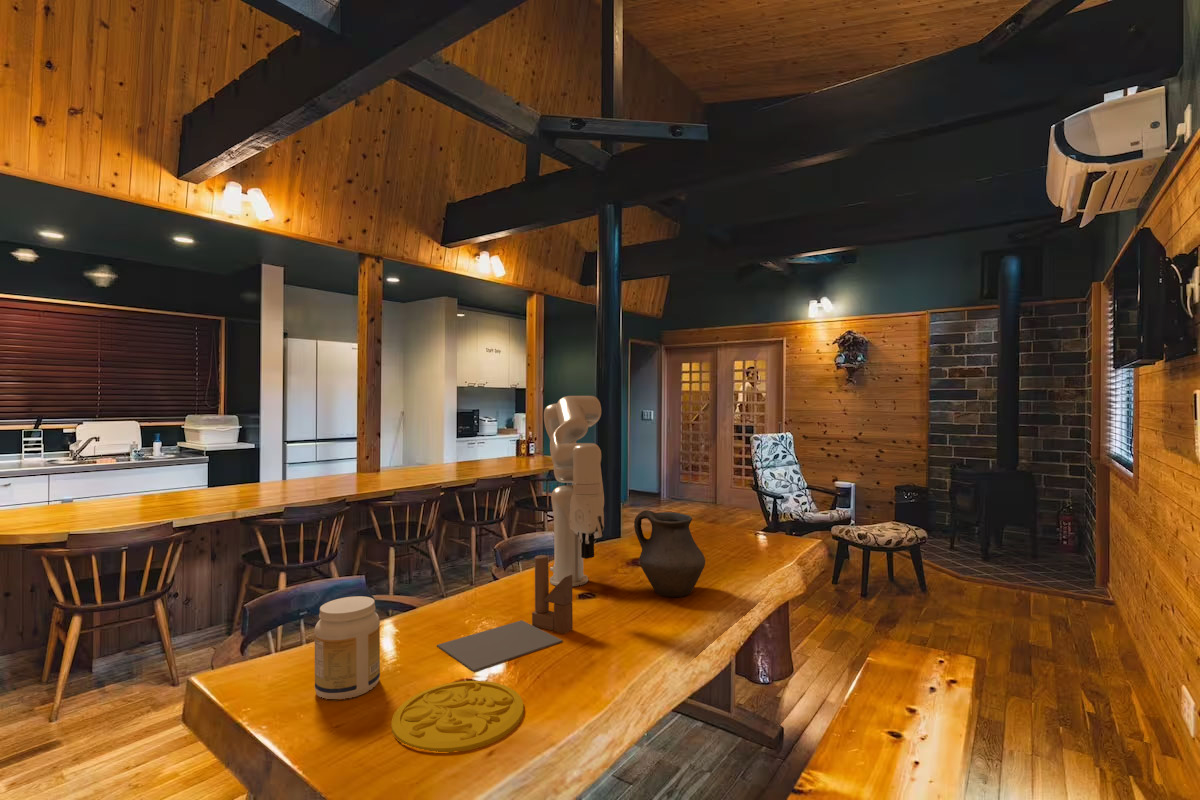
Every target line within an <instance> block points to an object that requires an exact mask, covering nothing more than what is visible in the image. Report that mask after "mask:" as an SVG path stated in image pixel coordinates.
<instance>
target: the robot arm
mask: <svg viewBox="0 0 1200 800" xmlns="http://www.w3.org/2000/svg"><path fill="white" fill-rule="evenodd" d="M601 417H602V406H601V402H600V400H599V398H598V397H596V396H594V395H567V396H563V397H561V398H560V399H559V400H558V401H557V403H552V404H549V405H547V406H546V407H545V408H544V411H543V421H544V427H545V430H546V433H547V436H548V438H549V452H550V457H551V462H552V465H553V475H554V478H555V480H556V481H557V482H558V483H563V484H565V485H560V486H557V487H555V488H554V489H553V490H552V492H551V496H550V497H551V499H550V500H551V508H552V515H553V527H554V528H553V533H554V534H553V535H554V537H553V539H554V541H553V543H554V545H553V546H554V550H553V551H554V559H553V560H554V562H553V566H550V568H549V570H550V571H551V572H552V573H553V574H552V576H551V577H549V583H550V584H551V585H553V586H555V587H556V586H557V585H558V584H559V583H560V581H561V580H562V579H563V578H564V577H567V576H569V575H572V588H573V587H579V585H580V586H583V585H585V584H587V583H588V582H589V577H588V575H586V574H584V559H586V560H587V559H592V558H594V557H595V543H596V541H597V539H600V538H602V537H603V534H602V532H603V531H604V530H605V529H604V528H605V511H604V510H605V509H604V508H605V507H604V506H605V493H604V484H603V477H602V467H601V463H602V450H601V449H600V447H599V445H597V443H593V442H577V441H579V440H581V439H582V438H584V437H585V435H587V433H588V430H589V428H591V427H593V426H595V424H597V423H598V422H599V420H600V418H601ZM569 483H572V484H569Z"/></svg>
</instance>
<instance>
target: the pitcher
mask: <svg viewBox="0 0 1200 800" xmlns="http://www.w3.org/2000/svg"><path fill="white" fill-rule="evenodd" d="M645 519H646V520H648V521H649V522H650V524H651V533H650V537H649V538H646V537H645V535H644V533H643V529H642V520H645ZM692 521H693V517H692V516H690V515H689V514H683V513H679V512H672V511H669V512H666V511H665V512H664V511H663V512H662V511H660V512H654V511H652V510H642V511H640V512H639V513H638V514H637V515H636V516H635V518H634V522H633V524H634V525H633V528H634V531H635V532H634V533H635V535H636V538H637V541H638V542H639V545H640V548H641V552H640V555H639V557H638V562H639V566H640V567H641V570H642V571H643V573H644V574H645V576H646V578H647V580H648V582H649V583H650V585H651V587H652V589H653V590H654V592H655V594H656V593H657V594H656V595H658V594H659V595H658V596H661V595H662V597H666V598H667V597H668V598H675V597H676V598H684V597H686V596H689V595H690V594H691V593H692V592H693V590H694V588H695V586H696V584H697V583H698V581H699V579H700V576H701V575H702V573H703V570H704V568H705V566H706V559H705V556H704V553H703V551H702V550H701V549H700V548H699V546H698V545H697V543H696V542H695V540H694V537H693V535H692V532H691V529H690V524H691V522H692Z"/></svg>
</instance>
